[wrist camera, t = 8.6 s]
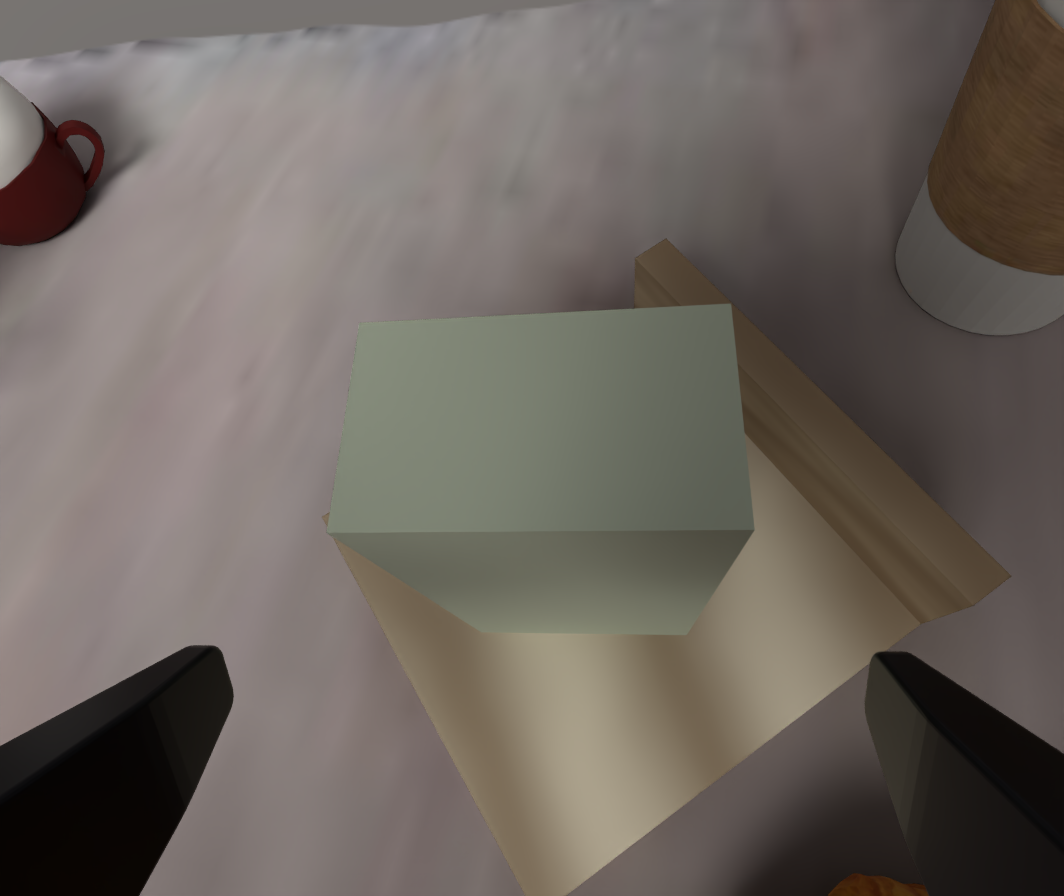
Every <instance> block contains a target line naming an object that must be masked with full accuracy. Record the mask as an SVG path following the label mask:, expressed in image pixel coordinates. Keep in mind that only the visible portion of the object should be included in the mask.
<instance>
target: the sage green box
mask: <svg viewBox="0 0 1064 896" xmlns="http://www.w3.org/2000/svg"><path fill="white" fill-rule="evenodd" d="M754 530H755V527H754V518H753V508H752V499H751V489H750V480H749V470H748V460H747V451H746V441H745V432H744V422H743V413H742V403H741V394H740V384H739V375H738V365H737V356H736V346H735V337H734V327H733V318H732V308H731V304H712V305H693V306H674V307H655V308H636V309H616V310H597V311H578V312H559V313H540V314H520V315H501V316H482V317H463V318H444V319H424V320H405V321H386V322H367V323H359V329H358V335H357V342H356V348H355V354H354V361H353V367H352V373H351V380H350V386H349V393H348V399H347V405H346V412H345V418H344V425H343V431H342V437H341V444H340V450H339V456H338V463H337V469H336V476H335V482H334V488H333V495H332V501H331V508H330V514H329V520H328V527H327V533H328V534H329V535H331V536H332V537H334V538H335V539H337V540H338V541H340V542H342V543H343V544H345V545H346V546H348V547H349V548H351V549H352V550H354V551H356V552H357V553H359V554H360V555H362V556H363V557H365V558H366V559H368V560H369V561H371V562H373V563H374V564H376V565H377V566H379V567H380V568H382V569H383V570H385V571H387V572H388V573H390V574H391V575H393V576H394V577H396V578H397V579H399V580H401V581H402V582H404V583H405V584H407V585H408V586H410V587H411V588H413V589H415V590H416V591H418V592H419V593H421V594H422V595H424V596H425V597H427V598H429V599H430V600H432V601H433V602H435V603H436V604H438V605H439V606H441V607H443V608H444V609H446V610H447V611H449V612H450V613H452V614H453V615H455V616H457V617H458V618H460V619H461V620H463V621H464V622H466V623H467V624H469V625H471V626H472V627H474V628H475V629H477V630H478V631H480V632H495V633H565V634H636V635H687V634H688V632H689V631H690V629H691V628H692V626H693V625H694V623H695V621H696V620H697V618H698V617H699V615H700V614H701V612H702V611H703V609H704V608H705V606H706V604H707V603H708V601H709V600H710V598H711V597H712V595H713V594H714V592H715V591H716V589H717V587H718V586H719V584H720V583H721V581H722V580H723V578H724V577H725V575H726V574H727V572H728V570H729V569H730V567H731V566H732V564H733V563H734V561H735V560H736V558H737V557H738V555H739V554H740V552H741V550H742V549H743V547H744V546H745V544H746V543H747V541H748V540H749V538H750V537H751V535H752V533H753V532H754Z"/></svg>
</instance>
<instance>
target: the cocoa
mask: <svg viewBox="0 0 1064 896" xmlns="http://www.w3.org/2000/svg"><path fill="white" fill-rule="evenodd" d="M78 134H79V135H82V136H85V137H87V138H88V139H89V140H90V141H91V142H92V143H93V145H94V147H95V153H94V157H93V160H92V162H91V165H90V168H89V170H88V171H87V172H86V173H85V174H84V171H83V167H82V165H81V163H80V162H79V160H78V158H77V156H76V154H75V153H74V151H73V150H72V148H71V146H70V145H69V143H68V142H67V140H66V139H67V138H68V137H69V136H70V135H78ZM104 152H105V151H104V146H103V143H102V140H101V136H100V135H99V134H98V133H97V132H96V130H95V129H93V128H92V127H91V126H90V125H88V124H86V123H84V122H81V121H76V120H70V121H65V122H64V123H62V124H61V125H59V126H58V128H56V127H55V126H54V125H53V124H52V122H51V121H50V120H49V119H48V118H47V117H46V116H45V115H44V114H43V113H42V112H41V111H40V110H39V109H38V108H37V107H36V106H35V105H34V103H32V102H30V101H29V100H28V99H27V98H26V97H25V96H24V95H22V94H21V93H20V92H19V91H18V90H17V89H15V88H14V87H13V86H12V85H11V84H10V83H9V82H7V81H6V80H5V79H4V78H3V77H1V76H0V244H3V245H13V246H22V245H27V244H32V243H38V242H41V241H44V240H47V239H49V238H51V237H53V236H55V235H56V234H58V233H60V232H62V231H63V230H64V229H65V228H66V227H67V226H68V225H69V224H70V223H71V222H72V221H73V220H74V219H75V218H76V216H77V214H78V212H79V210H80V208H81V206H82V203H83V201H84V199H85V197H86V191H88V190H89V189H90V188H91V187H92V186H93V185H94V183H95V181H96V179H97V178H98V176H99V174H100V172H101V168H102V165H103V159H104Z"/></svg>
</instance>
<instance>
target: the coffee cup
mask: <svg viewBox="0 0 1064 896" xmlns="http://www.w3.org/2000/svg"><path fill="white" fill-rule="evenodd" d="M895 260H896V268H897V273H898V275H899V278H900V280H901V283H902V285H903V286H904V288H905V290H906V291H907V293H908V294H909V296H910V297H911V298H912V299H913V300H914V301H915V302H916V303H917V304H918V305H919V306H920V307H921V308H922V309H923V310H925V311H926V312H928V313H929V314H930V315H932V316H933V317H935V318H936V319H938V320H940V321H942V322H944V323H946V324H948V325H950V326H953V327H956V328H959V329H962V330H965V331H968V332H973V333H979V334H985V335H1012V334H1020V333H1026V332H1029V331H1032V330H1035V329H1039V328H1042V327H1044V326H1046V325H1047V324H1049V323H1051V322H1053V321H1055V320H1057V319H1058V318H1059V317H1061V316H1062V315H1064V0H995V3H994V5H993V8H992V10H991V13H990V15H989V18H988V20H987V23H986V25H985V28H984V30H983V33H982V35H981V38H980V40H979V43H978V45H977V48H976V50H975V53H974V55H973V58H972V60H971V63H970V65H969V68H968V70H967V73H966V75H965V78H964V80H963V83H962V85H961V88H960V90H959V93H958V95H957V98H956V100H955V103H954V105H953V108H952V110H951V113H950V115H949V118H948V120H947V123H946V125H945V128H944V130H943V133H942V135H941V138H940V140H939V143H938V145H937V148H936V150H935V153H934V155H933V158H932V160H931V163H930V165H929V171H928V174H927V176H926V178H925V180H924V183H923V185H922V187H921V190H920V192H919V194H918V196H917V199H916V201H915V203H914V205H913V208H912V210H911V212H910V215H909V217H908V219H907V221H906V224H905V226H904V228H903V231H902V233H901V235H900V238H899V240H898V243H897V248H896V254H895Z"/></svg>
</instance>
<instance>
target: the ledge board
mask: <svg viewBox="0 0 1064 896" xmlns="http://www.w3.org/2000/svg"><path fill="white" fill-rule="evenodd" d="M712 304H731V308H732V318H733V327H734V337H735V346H736V356H737V365H738V375H739V384H740V394H741V403H742V413H743V422H744V432H745V441H746V451H747V460H748V470H749V480H750V489H751V499H752V508H753V518H754V527H755V530H754V532H753V533H752V535H751V537H750V538H749V540H748V541H747V543H746V544H745V546H744V547H743V549H742V550H741V552H740V554H739V555H738V557H737V558H736V560H735V561H734V563H733V564H732V566H731V567H730V569H729V570H728V572H727V574H726V575H725V577H724V578H723V580H722V581H721V583H720V584H719V586H718V587H717V589H716V591H715V592H714V594H713V595H712V597H711V598H710V600H709V601H708V603H707V604H706V606H705V608H704V609H703V611H702V612H701V614H700V615H699V617H698V618H697V620H696V621H695V623H694V625H693V626H692V628H691V629H690V631H689V632H688V634H687V635H636V634H565V633H495V632H480V631H478V630H477V629H475V628H474V627H472V626H471V625H469V624H467V623H466V622H464V621H463V620H461V619H460V618H458V617H457V616H455V615H453V614H452V613H450V612H449V611H447V610H446V609H444V608H443V607H441V606H439V605H438V604H436V603H435V602H433V601H432V600H430V599H429V598H427V597H425V596H424V595H422V594H421V593H419V592H418V591H416V590H415V589H413V588H411V587H410V586H408V585H407V584H405V583H404V582H402V581H401V580H399V579H397V578H396V577H394V576H393V575H391V574H390V573H388V572H387V571H385V570H383V569H382V568H380V567H379V566H377V565H376V564H374V563H373V562H371V561H369V560H368V559H366V558H365V557H363V556H362V555H360V554H359V553H357V552H356V551H354V550H352V549H351V548H349V547H348V546H346V545H345V544H343V543H342V542H340V541H338V540H337V539H335V538H334V537H333V538H334V540H335V542H336V544H337V546H338V548H339V550H340V551H341V553H342V555H343V557H344V559H345V561H346V563H347V565H348V566H349V568H350V570H351V572H352V574H353V576H354V578H355V579H356V581H357V583H358V585H359V587H360V589H361V591H362V592H363V594H364V596H365V598H366V600H367V602H368V604H369V605H370V607H371V609H372V611H373V613H374V615H375V617H376V618H377V620H378V622H379V624H380V626H381V628H382V630H383V632H384V633H385V635H386V637H387V639H388V641H389V643H390V645H391V646H392V648H393V650H394V652H395V654H396V656H397V658H398V659H399V661H400V663H401V665H402V667H403V669H404V671H405V672H406V674H407V676H408V678H409V680H410V682H411V684H412V686H413V687H414V689H415V691H416V693H417V695H418V697H419V699H420V700H421V702H422V704H423V706H424V708H425V710H426V712H427V713H428V715H429V717H430V719H431V721H432V723H433V725H434V726H435V728H436V730H437V732H438V734H439V736H440V738H441V740H442V741H443V743H444V745H445V747H446V749H447V751H448V753H449V754H450V756H451V758H452V760H453V762H454V764H455V766H456V767H457V769H458V771H459V773H460V775H461V777H462V779H463V780H464V782H465V784H466V786H467V788H468V790H469V792H470V793H471V795H472V797H473V799H474V801H475V803H476V805H477V807H478V808H479V810H480V812H481V814H482V816H483V818H484V820H485V821H486V823H487V825H488V827H489V829H490V831H491V833H492V834H493V836H494V838H495V840H496V842H497V844H498V846H499V847H500V849H501V851H502V853H503V855H504V857H505V859H506V861H507V862H508V864H509V866H510V868H511V870H512V872H513V874H514V875H515V877H516V879H517V881H518V883H519V885H520V887H521V888H522V890H523V892H524V894H525V896H566V895H567V894H569V893H570V892H571V891H572V890H574V889H575V888H576V887H578V886H579V885H580V884H582V883H583V882H584V881H586V880H587V879H588V878H589V877H591V876H592V875H593V874H595V873H596V872H597V871H599V870H600V869H601V868H603V867H604V866H605V865H606V864H608V863H609V862H610V861H612V860H613V859H614V858H616V857H617V856H618V855H620V854H621V853H622V852H623V851H625V850H626V849H627V848H629V847H630V846H631V845H633V844H634V843H635V842H637V841H638V840H639V839H640V838H642V837H643V836H644V835H646V834H647V833H648V832H650V831H651V830H652V829H654V828H655V827H656V826H657V825H659V824H660V823H661V822H663V821H664V820H665V819H667V818H668V817H669V816H671V815H672V814H673V813H674V812H676V811H677V810H678V809H680V808H681V807H682V806H684V805H685V804H686V803H688V802H689V801H690V800H691V799H693V798H694V797H695V796H697V795H698V794H699V793H701V792H702V791H703V790H705V789H706V788H707V787H708V786H710V785H711V784H712V783H714V782H715V781H716V780H718V779H719V778H720V777H722V776H723V775H724V774H725V773H727V772H728V771H729V770H731V769H732V768H733V767H735V766H736V765H737V764H738V763H740V762H741V761H742V760H744V759H745V758H746V757H748V756H749V755H750V754H752V753H753V752H754V751H755V750H757V749H758V748H759V747H761V746H762V745H763V744H765V743H766V742H767V741H769V740H770V739H771V738H772V737H774V736H775V735H776V734H778V733H779V732H780V731H782V730H783V729H784V728H786V727H787V726H788V725H789V724H791V723H792V722H793V721H795V720H796V719H797V718H799V717H800V716H801V715H803V714H804V713H805V712H806V711H808V710H809V709H810V708H812V707H813V706H814V705H816V704H817V703H818V702H820V701H821V700H822V699H823V698H825V697H826V696H827V695H829V694H830V693H831V692H833V691H834V690H835V689H837V688H838V687H839V686H840V685H842V684H843V683H844V682H846V681H847V680H848V679H850V678H851V677H852V676H854V675H855V674H856V673H857V672H859V671H860V670H861V669H863V668H864V667H865V666H867V665H868V664H869V663H870V661H871V658H872V656H873V654H875V653H876V652H879V651H886V650H888V649H889V648H890V647H891V646H893V645H894V644H895V643H897V642H898V641H899V640H901V639H902V638H903V637H904V636H906V635H907V634H908V633H910V632H911V631H912V630H914V629H915V628H916V627H918V626H919V625H920V624H922V623H925V622H928V621H931V620H934V619H936V618H939V617H942V616H945V615H948V614H951V613H954V612H957V611H959V610H962V609H965V608H968V607H971V606H974V605H975V604H976V603H977V602H979V601H980V600H981V599H983V598H984V597H985V596H987V595H988V594H989V593H990V592H992V591H993V590H994V589H996V588H997V587H998V586H1000V585H1001V584H1002V583H1003V582H1005V581H1006V580H1007V579H1009V578H1010V577H1011V575H1010V574H1009V573H1008V572H1007V571H1006V570H1005V569H1004V568H1003V567H1002V566H1001V565H1000V564H999V563H998V562H997V561H996V560H995V559H994V558H993V557H991V556H990V555H989V554H988V553H987V552H986V551H985V550H984V549H983V548H982V547H981V546H980V545H979V544H978V543H977V542H976V541H975V540H974V539H973V538H972V537H971V536H970V535H969V534H968V533H967V532H966V531H965V530H964V529H963V528H962V527H961V526H960V525H959V524H958V523H957V522H956V521H955V520H954V519H953V518H952V517H951V516H950V515H948V514H947V513H946V512H945V511H944V510H943V509H942V508H941V507H940V506H939V505H938V504H937V503H936V502H935V501H934V500H933V499H932V498H931V497H930V496H929V495H928V494H927V493H926V492H925V491H924V490H923V489H922V488H921V487H920V486H919V485H918V484H917V483H916V482H915V481H914V480H913V479H912V478H911V477H910V476H909V475H908V474H907V473H906V472H904V471H903V470H902V469H901V468H900V467H899V466H898V465H897V464H896V463H895V462H894V461H893V460H892V459H891V458H890V457H889V456H888V455H887V454H886V453H885V452H884V451H883V450H882V449H881V448H880V447H879V446H878V445H877V444H876V443H875V442H874V441H873V440H872V439H871V438H870V437H869V436H868V435H867V434H866V433H865V432H864V431H863V430H862V429H860V428H859V427H858V426H857V425H856V424H855V423H854V422H853V421H852V420H851V419H850V418H849V417H848V416H847V415H846V414H845V413H844V412H843V411H842V410H841V409H840V408H839V407H838V406H837V405H836V404H835V403H834V402H833V401H832V400H831V399H830V398H829V397H828V396H827V395H826V394H825V393H824V392H823V391H822V390H821V389H820V388H819V387H818V386H816V385H815V384H814V383H813V382H812V381H811V380H810V379H809V378H808V377H807V376H806V375H805V374H804V373H803V372H802V371H801V370H800V369H799V368H798V367H797V366H796V365H795V364H794V363H793V362H792V361H791V360H790V359H789V358H788V357H787V356H786V355H785V354H784V353H783V352H782V351H781V350H780V349H779V348H778V347H777V346H776V345H775V344H774V343H772V342H771V341H770V340H769V339H768V338H767V337H766V336H765V335H764V334H763V333H762V332H761V331H760V330H759V329H758V328H757V327H756V326H755V325H754V324H753V323H752V322H751V321H750V320H749V319H748V318H747V317H746V316H745V315H744V314H743V313H742V312H741V311H740V310H739V309H738V308H737V307H736V306H735V305H734V304H733V303H732V302H731V301H730V300H728V299H727V298H726V297H725V296H724V295H723V294H722V293H721V292H720V291H719V290H718V289H717V288H716V287H715V286H714V285H713V284H712V283H711V282H710V281H709V280H708V279H707V278H706V277H705V276H704V275H703V274H702V273H701V272H700V271H699V270H698V269H697V268H696V267H695V266H694V265H693V264H692V263H691V262H690V261H689V260H688V259H687V258H686V257H684V256H683V255H682V254H681V253H680V252H679V251H678V250H677V249H676V248H675V247H674V246H673V245H672V244H671V243H670V242H669V241H668V240H667V239H664V240H663V241H661V242H660V243H658V244H657V245H655V246H653V247H652V248H650V249H649V250H647V251H646V252H644V253H642V254H641V255H639V256H638V257H636V258H635V295H634V309H636V308H655V307H674V306H693V305H712ZM329 514H330V512H329V513H327V514H326V515H324V516H323V517H322V518H323V520H324V522H325V524H326V525H327V527H328V520H329Z"/></svg>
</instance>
